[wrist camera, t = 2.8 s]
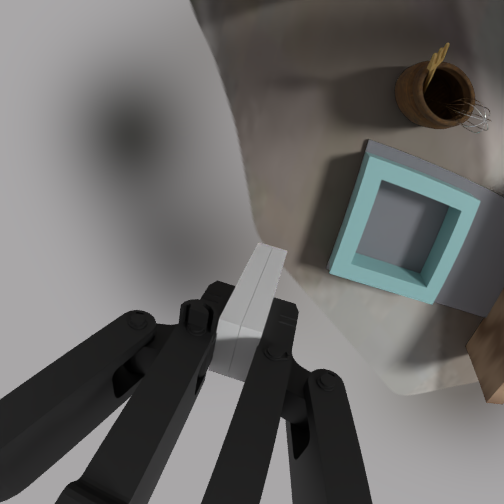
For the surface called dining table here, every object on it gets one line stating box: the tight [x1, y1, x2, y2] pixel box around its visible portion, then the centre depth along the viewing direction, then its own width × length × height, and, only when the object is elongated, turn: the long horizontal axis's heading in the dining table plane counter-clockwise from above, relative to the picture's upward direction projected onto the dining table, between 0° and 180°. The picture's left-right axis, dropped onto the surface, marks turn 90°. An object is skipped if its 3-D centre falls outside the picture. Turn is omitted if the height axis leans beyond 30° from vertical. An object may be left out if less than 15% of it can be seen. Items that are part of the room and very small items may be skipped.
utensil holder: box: [395, 43, 492, 133], centre depth 19 cm, size 6×6×12 cm
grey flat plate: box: [326, 139, 504, 318], centre depth 29 cm, size 14×22×1 cm, turn 77°
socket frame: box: [329, 152, 481, 304], centre depth 28 cm, size 12×12×3 cm
